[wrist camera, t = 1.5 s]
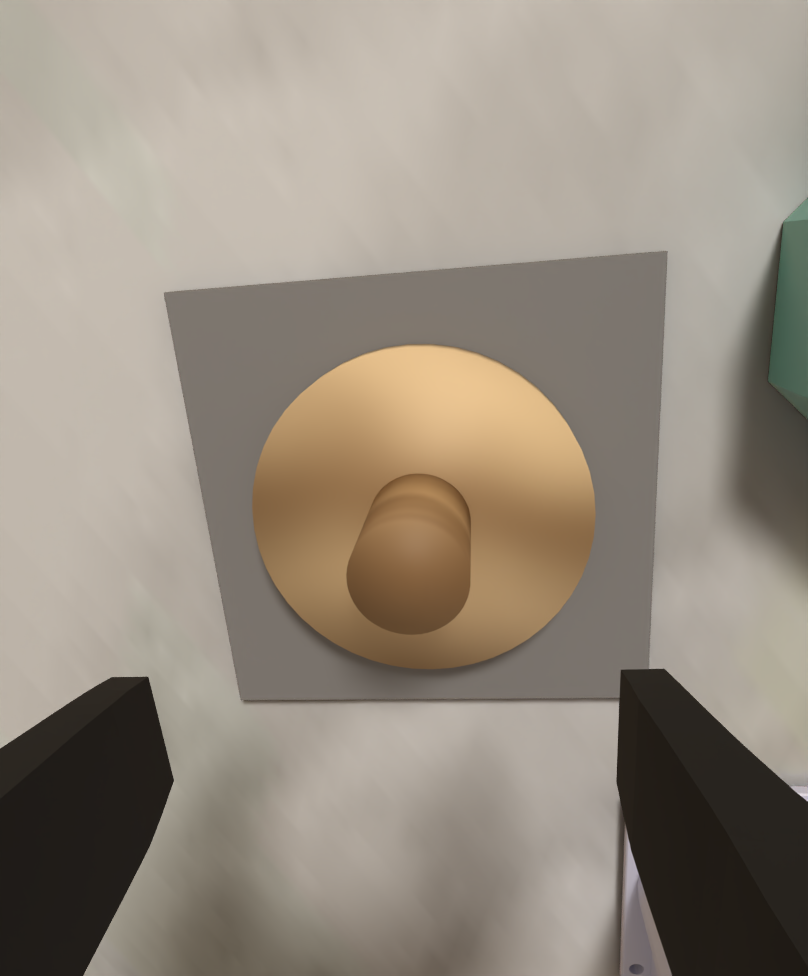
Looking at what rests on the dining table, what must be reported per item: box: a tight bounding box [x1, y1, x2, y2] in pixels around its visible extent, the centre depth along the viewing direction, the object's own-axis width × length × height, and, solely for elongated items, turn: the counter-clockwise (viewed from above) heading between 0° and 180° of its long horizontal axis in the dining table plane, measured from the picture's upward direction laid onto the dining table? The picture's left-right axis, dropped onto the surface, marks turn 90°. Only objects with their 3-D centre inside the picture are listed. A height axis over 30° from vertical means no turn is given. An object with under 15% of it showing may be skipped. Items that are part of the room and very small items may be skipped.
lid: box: [252, 344, 596, 669], centre depth 17 cm, size 9×9×4 cm
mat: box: [164, 251, 668, 700], centre depth 19 cm, size 13×13×1 cm
